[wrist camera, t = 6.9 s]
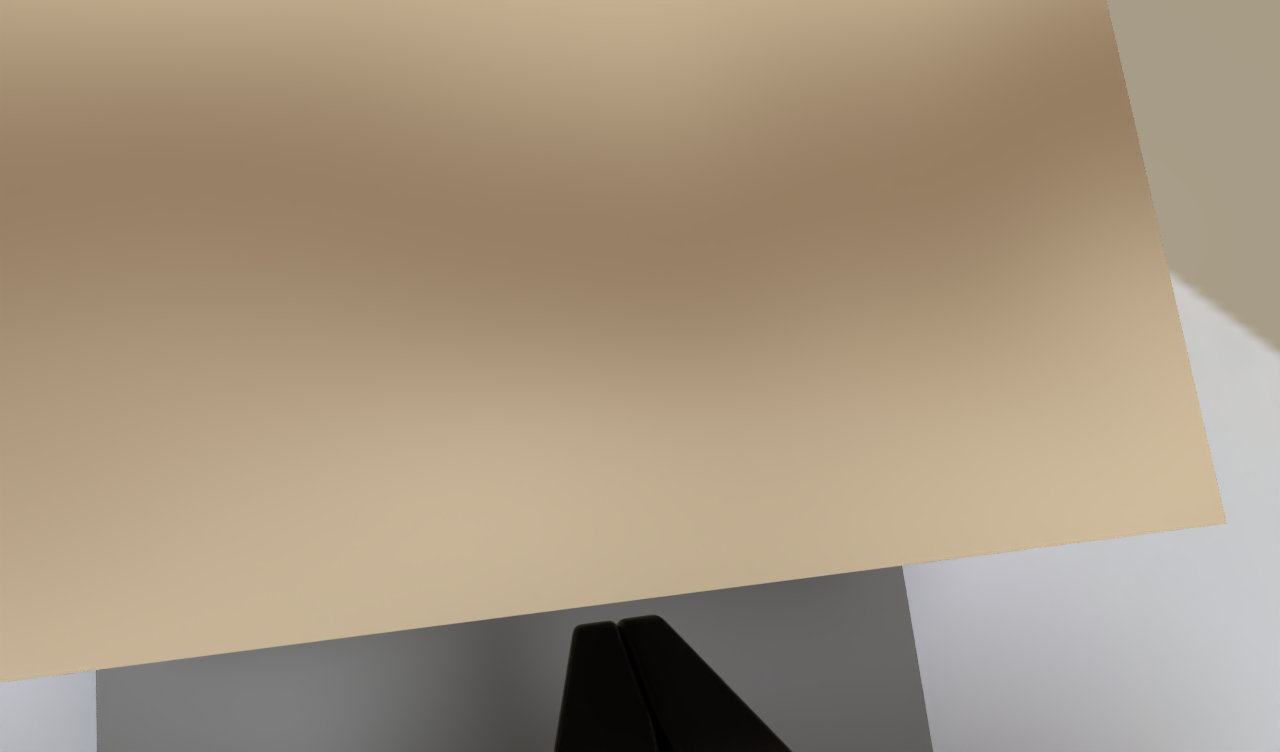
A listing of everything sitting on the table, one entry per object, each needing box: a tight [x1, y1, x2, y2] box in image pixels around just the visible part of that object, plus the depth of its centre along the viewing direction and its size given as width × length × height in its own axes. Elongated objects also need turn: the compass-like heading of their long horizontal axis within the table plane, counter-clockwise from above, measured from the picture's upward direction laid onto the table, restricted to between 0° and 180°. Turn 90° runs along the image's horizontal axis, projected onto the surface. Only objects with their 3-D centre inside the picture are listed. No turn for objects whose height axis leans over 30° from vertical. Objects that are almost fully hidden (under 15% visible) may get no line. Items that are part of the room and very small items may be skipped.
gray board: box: [96, 566, 933, 752], centre depth 15 cm, size 12×13×1 cm
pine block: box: [0, 0, 1226, 682], centre depth 12 cm, size 6×11×8 cm, turn 97°
